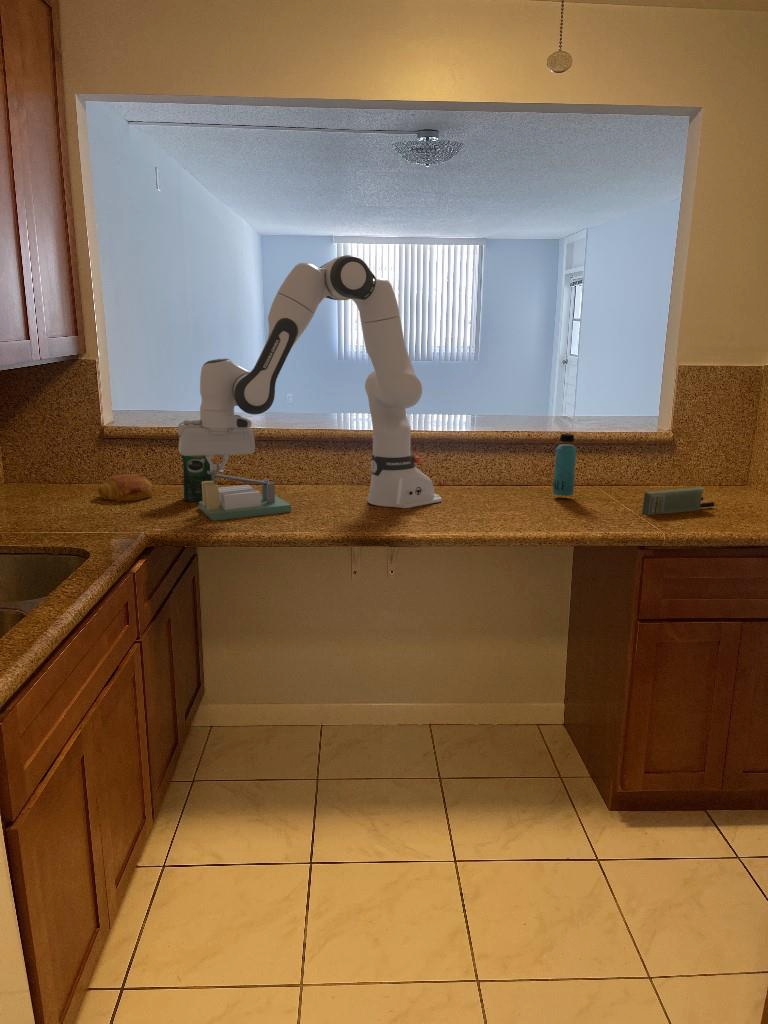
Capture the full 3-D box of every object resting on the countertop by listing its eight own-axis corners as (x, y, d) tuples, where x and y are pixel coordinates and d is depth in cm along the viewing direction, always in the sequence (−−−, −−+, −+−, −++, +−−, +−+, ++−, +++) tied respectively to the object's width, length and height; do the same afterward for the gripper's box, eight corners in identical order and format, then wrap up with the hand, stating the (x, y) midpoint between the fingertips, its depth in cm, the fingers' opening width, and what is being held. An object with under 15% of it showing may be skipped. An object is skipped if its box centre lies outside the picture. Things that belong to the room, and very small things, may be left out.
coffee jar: (218, 495, 212) (215, 435, 207) (214, 501, 204) (210, 439, 200) (186, 496, 211) (182, 435, 206) (180, 502, 203) (176, 439, 199)
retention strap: (268, 485, 198) (269, 480, 198) (271, 487, 196) (272, 482, 196) (206, 475, 189) (207, 470, 189) (209, 477, 187) (210, 472, 186)
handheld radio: (639, 513, 197) (707, 506, 206) (647, 516, 194) (716, 509, 203) (642, 491, 195) (711, 485, 204) (650, 494, 192) (720, 487, 201)
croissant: (98, 502, 212) (91, 477, 209) (149, 489, 219) (143, 465, 217) (108, 511, 200) (101, 484, 198) (161, 497, 208) (155, 471, 205)
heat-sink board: (273, 500, 206) (272, 472, 204) (291, 511, 194) (290, 481, 192) (199, 508, 196) (197, 478, 194) (213, 520, 184) (211, 489, 181)
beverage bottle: (573, 496, 216) (578, 432, 211) (573, 501, 209) (578, 435, 205) (551, 495, 217) (556, 432, 212) (551, 500, 211) (556, 434, 206)
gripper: (180, 421, 178) (181, 474, 181) (257, 421, 188) (256, 471, 191) (175, 419, 183) (176, 470, 187) (250, 418, 193) (249, 467, 196)
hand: (217, 471), depth 189 cm, fingers closed
